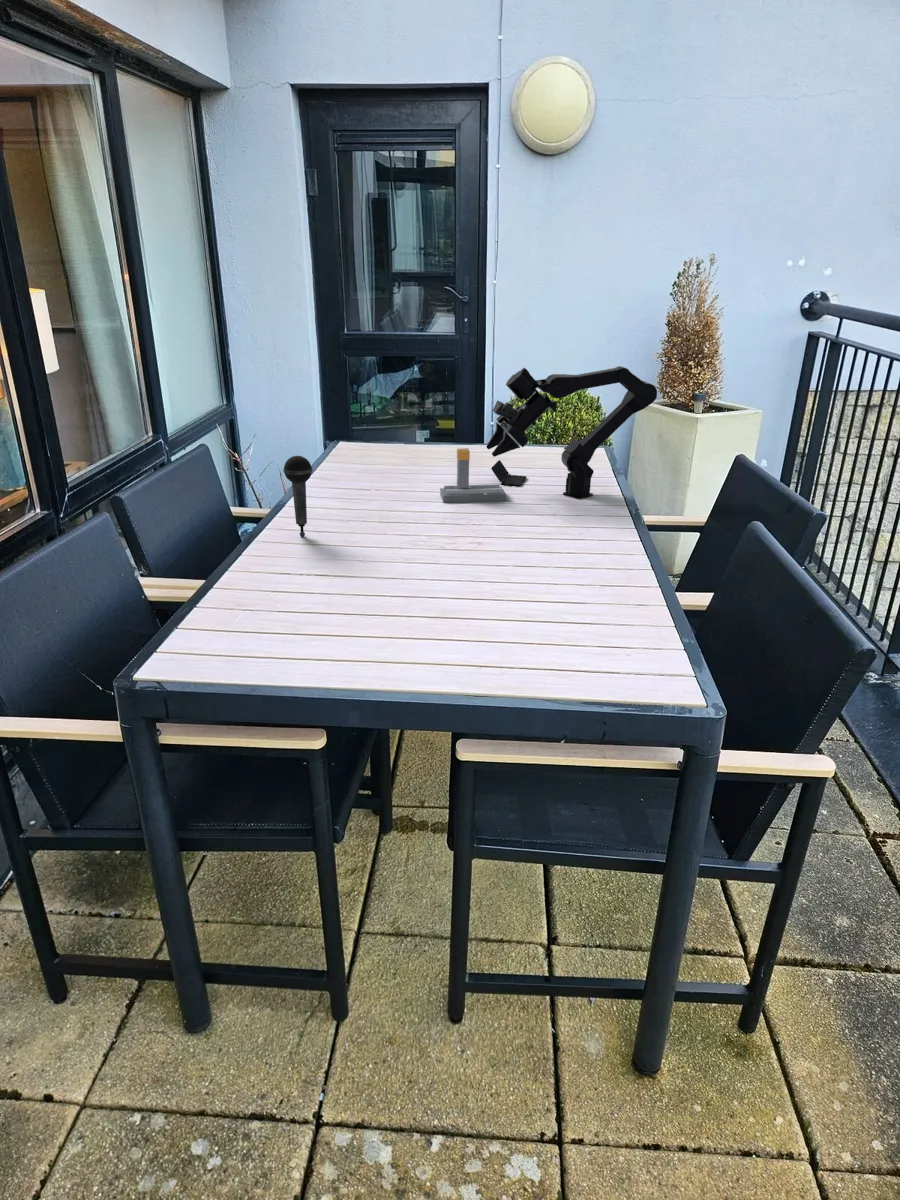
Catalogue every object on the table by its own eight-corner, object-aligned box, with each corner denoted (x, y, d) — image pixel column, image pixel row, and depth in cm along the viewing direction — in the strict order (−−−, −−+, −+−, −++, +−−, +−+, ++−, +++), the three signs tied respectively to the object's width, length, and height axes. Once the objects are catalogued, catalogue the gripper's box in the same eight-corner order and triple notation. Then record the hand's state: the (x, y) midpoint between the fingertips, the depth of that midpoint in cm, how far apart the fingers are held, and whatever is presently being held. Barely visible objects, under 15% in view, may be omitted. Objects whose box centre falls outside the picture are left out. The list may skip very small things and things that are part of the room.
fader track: (501, 493, 231) (501, 482, 229) (506, 501, 223) (506, 490, 222) (440, 495, 228) (440, 484, 227) (443, 502, 221) (443, 491, 220)
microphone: (310, 542, 189) (305, 460, 181) (283, 540, 191) (277, 458, 183) (320, 533, 196) (315, 453, 188) (294, 531, 197) (288, 452, 189)
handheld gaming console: (527, 482, 237) (508, 455, 235) (507, 496, 239) (488, 469, 237) (528, 478, 248) (509, 452, 246) (509, 491, 250) (491, 465, 248)
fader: (470, 489, 226) (471, 448, 222) (472, 492, 224) (472, 450, 219) (453, 489, 226) (453, 448, 221) (454, 492, 223) (455, 451, 218)
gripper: (504, 385, 224) (465, 425, 227) (518, 396, 207) (475, 438, 210) (530, 413, 228) (491, 452, 231) (545, 426, 211) (503, 467, 214)
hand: (489, 451), depth 221 cm, fingers open, 9 cm apart
